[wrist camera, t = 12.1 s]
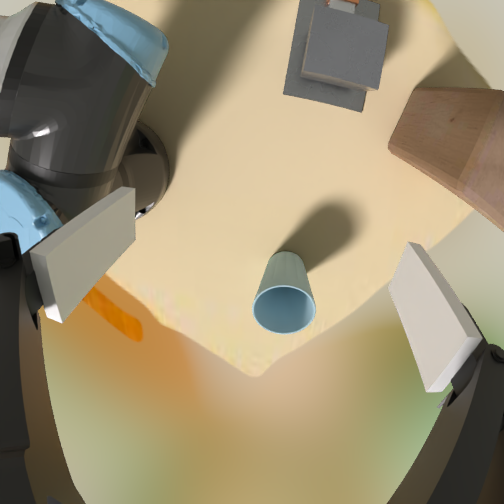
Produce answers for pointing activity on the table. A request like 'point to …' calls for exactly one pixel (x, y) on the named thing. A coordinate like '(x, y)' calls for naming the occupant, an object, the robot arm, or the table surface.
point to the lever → (295, 85)
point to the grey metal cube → (344, 49)
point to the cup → (284, 296)
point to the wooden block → (457, 143)
